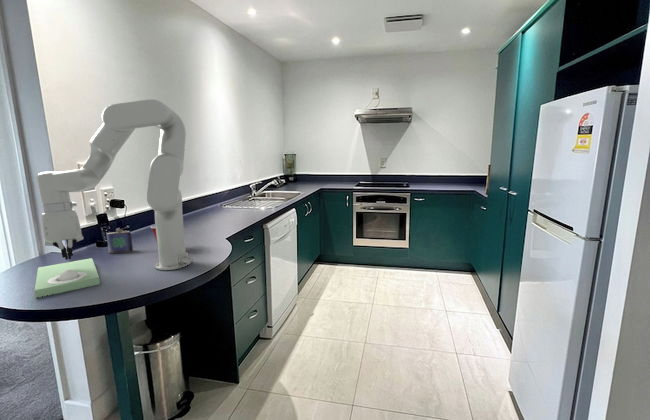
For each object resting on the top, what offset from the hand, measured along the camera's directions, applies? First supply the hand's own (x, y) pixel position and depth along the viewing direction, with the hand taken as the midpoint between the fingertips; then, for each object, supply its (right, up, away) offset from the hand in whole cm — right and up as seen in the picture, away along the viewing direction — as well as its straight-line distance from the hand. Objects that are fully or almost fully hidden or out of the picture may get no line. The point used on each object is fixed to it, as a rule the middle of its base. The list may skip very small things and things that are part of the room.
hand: (68, 258), depth 115 cm
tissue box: (+2, -7, -2) cm, 7 cm away
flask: (+1, -2, +29) cm, 29 cm away
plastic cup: (+20, -1, +30) cm, 36 cm away
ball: (+6, -5, -8) cm, 11 cm away
